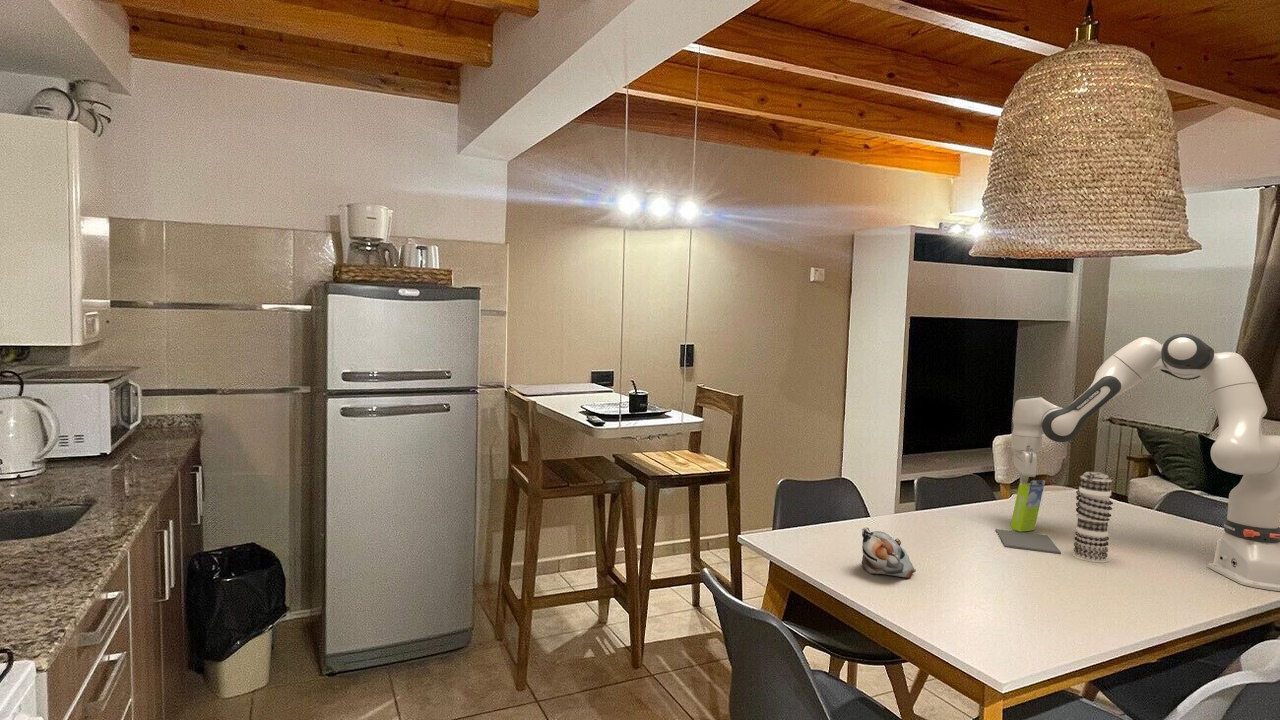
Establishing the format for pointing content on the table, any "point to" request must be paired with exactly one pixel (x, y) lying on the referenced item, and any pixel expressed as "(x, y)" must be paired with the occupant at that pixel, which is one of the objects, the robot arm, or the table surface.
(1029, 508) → the box
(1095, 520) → the decorative candle
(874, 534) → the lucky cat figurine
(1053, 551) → the mat
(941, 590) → the table surface
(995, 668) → the table surface
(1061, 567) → the table surface
